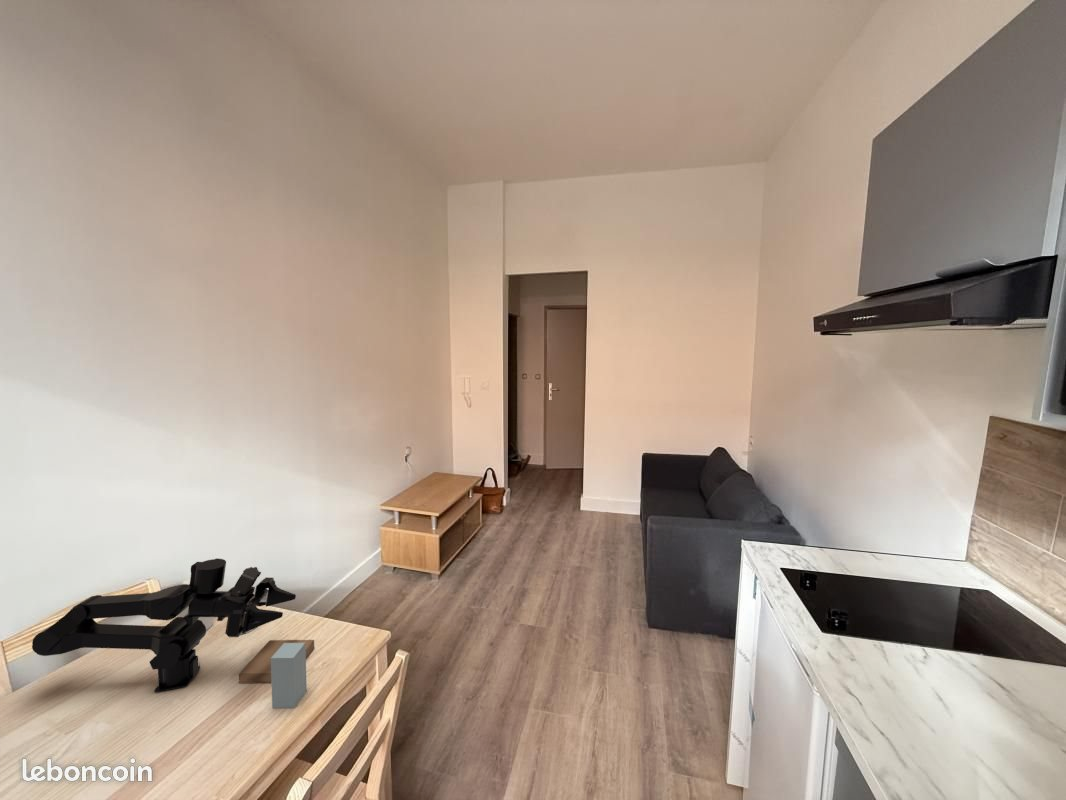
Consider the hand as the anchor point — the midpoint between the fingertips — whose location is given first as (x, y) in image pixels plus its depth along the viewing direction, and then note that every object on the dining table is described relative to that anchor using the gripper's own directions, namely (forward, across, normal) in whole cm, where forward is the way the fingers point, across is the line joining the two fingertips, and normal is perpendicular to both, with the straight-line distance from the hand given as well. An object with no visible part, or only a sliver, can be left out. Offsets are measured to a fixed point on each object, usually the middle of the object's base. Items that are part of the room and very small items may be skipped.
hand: (289, 605), depth 101 cm
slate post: (+6, -10, +16) cm, 20 cm away
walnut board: (-1, +2, +16) cm, 17 cm away
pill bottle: (-30, +24, +19) cm, 43 cm away
